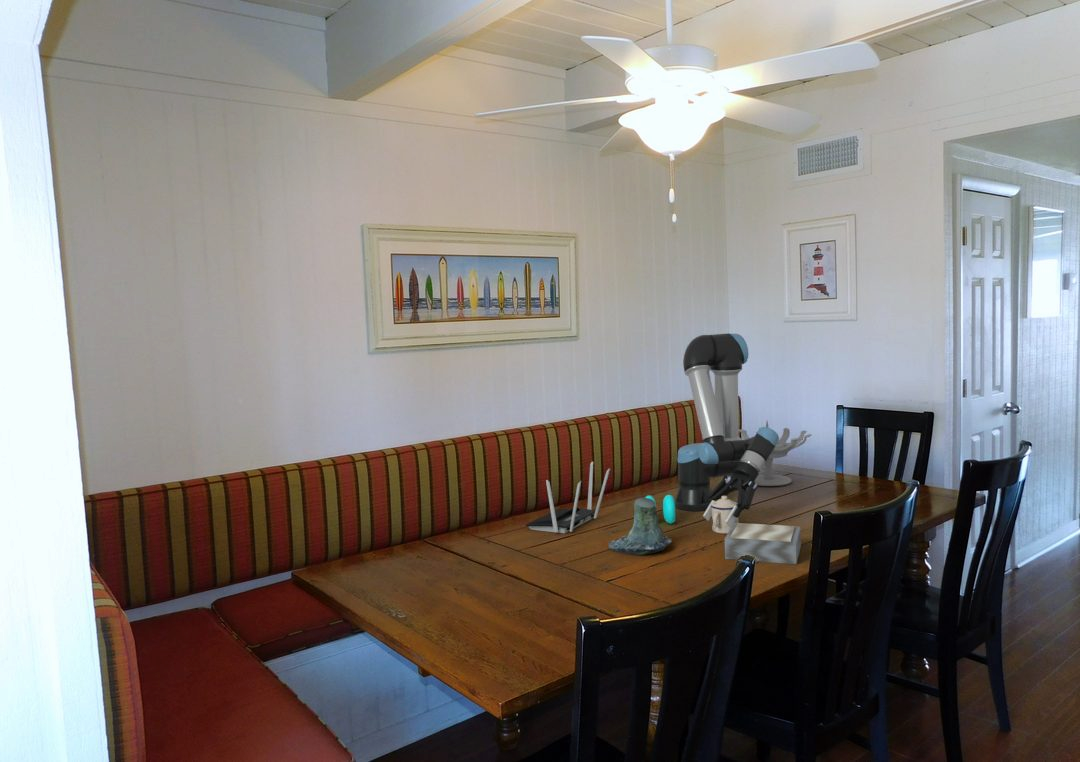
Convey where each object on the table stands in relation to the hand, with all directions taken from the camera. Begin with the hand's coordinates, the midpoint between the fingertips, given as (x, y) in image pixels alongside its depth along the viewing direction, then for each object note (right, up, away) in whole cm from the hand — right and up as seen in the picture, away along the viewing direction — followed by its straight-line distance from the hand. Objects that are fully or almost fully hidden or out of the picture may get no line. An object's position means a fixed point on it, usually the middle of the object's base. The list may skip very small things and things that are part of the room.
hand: (716, 521), depth 251 cm
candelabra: (+39, +3, +70) cm, 80 cm away
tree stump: (-27, -7, -11) cm, 30 cm away
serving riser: (+9, -5, -22) cm, 25 cm away
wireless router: (-48, -5, +19) cm, 52 cm away
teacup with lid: (+3, -4, +2) cm, 5 cm away
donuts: (-16, -4, +16) cm, 23 cm away
